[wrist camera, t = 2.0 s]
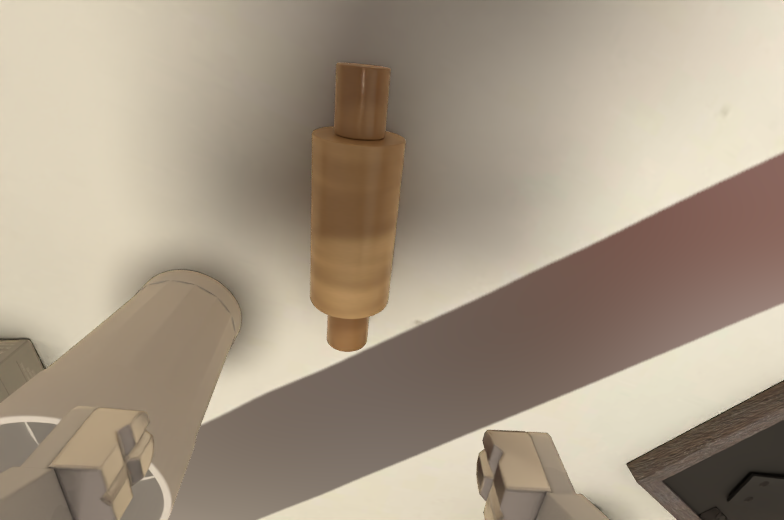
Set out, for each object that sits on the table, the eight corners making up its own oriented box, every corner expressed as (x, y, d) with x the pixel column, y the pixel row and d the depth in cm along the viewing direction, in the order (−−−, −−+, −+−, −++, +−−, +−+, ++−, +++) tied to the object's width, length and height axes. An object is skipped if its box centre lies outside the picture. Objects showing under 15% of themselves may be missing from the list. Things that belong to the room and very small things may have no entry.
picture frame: (868, 489, 36) (792, 376, 30) (893, 512, 35) (817, 397, 28) (720, 552, 40) (626, 464, 34) (735, 576, 39) (639, 487, 32)
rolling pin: (318, 58, 20) (306, 62, 16) (409, 67, 21) (418, 73, 17) (314, 316, 27) (304, 362, 23) (382, 319, 27) (384, 365, 24)
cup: (264, 278, 26) (181, 443, 15) (243, 373, 29) (163, 563, 19) (128, 241, 25) (-69, 394, 14) (122, 346, 28) (-39, 532, 17)
